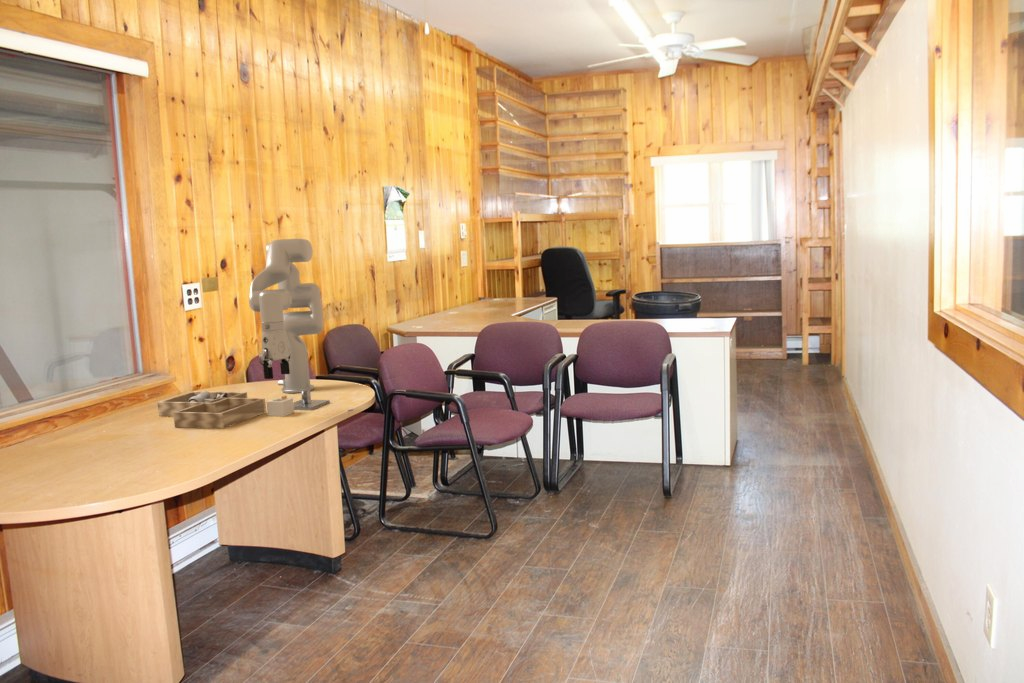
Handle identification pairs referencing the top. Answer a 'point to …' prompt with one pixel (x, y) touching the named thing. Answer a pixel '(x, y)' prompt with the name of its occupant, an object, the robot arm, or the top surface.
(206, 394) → the clip-on lamp
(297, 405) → the plate
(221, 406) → the tray
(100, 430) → the top surface
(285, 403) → the grey block
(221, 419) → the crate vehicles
